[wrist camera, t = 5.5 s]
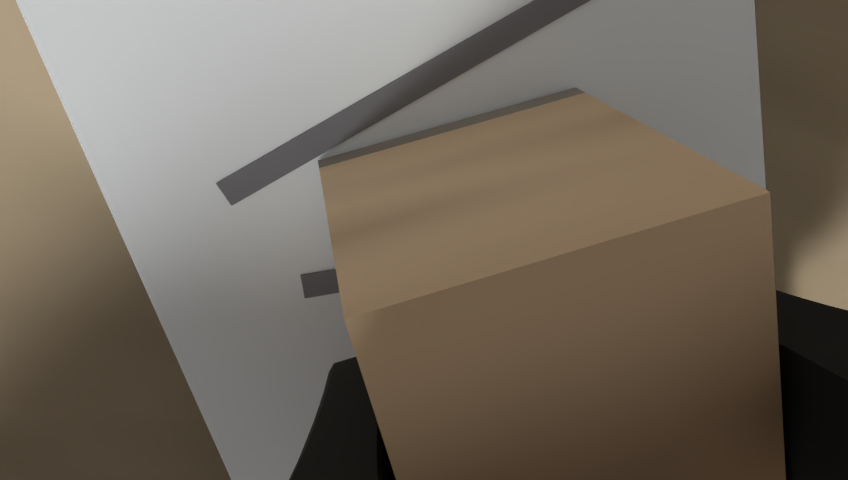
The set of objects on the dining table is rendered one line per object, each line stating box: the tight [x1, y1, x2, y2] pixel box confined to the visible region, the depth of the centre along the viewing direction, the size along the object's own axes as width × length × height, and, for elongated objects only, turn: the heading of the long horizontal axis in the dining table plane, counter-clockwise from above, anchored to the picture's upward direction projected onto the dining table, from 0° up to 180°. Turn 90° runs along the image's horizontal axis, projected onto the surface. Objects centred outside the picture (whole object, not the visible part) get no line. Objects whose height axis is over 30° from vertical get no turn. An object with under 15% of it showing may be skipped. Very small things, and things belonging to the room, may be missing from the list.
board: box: [16, 0, 766, 480], centre depth 13 cm, size 18×10×1 cm, turn 14°
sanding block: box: [318, 87, 786, 480], centre depth 11 cm, size 7×4×5 cm, turn 13°
